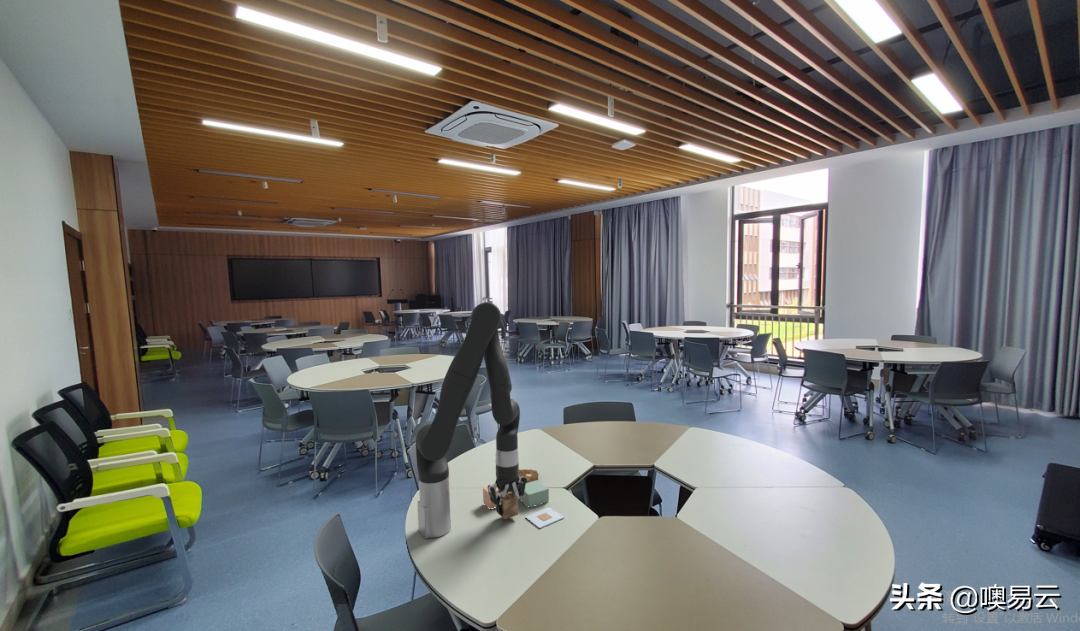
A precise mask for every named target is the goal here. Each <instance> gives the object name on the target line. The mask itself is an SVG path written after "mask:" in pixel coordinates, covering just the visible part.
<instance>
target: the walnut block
mask: <svg viewBox="0 0 1080 631" xmlns="http://www.w3.org/2000/svg"><path fill="white" fill-rule="evenodd" d="M502 504H503V515H499V516H501V517H502V518H503V519H504V520H508V519H510V518H514V517H515V516H519V506H518V497H517V496H515V495H514V494H513V493H512V492H508V493H506V496H505V498H504V499H503V503H502Z"/></svg>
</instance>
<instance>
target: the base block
mask: <svg viewBox="0 0 1080 631" xmlns="http://www.w3.org/2000/svg"><path fill="white" fill-rule="evenodd" d="M549 492H550V490H549V488H548V487H547V486H546V485H545V484H543V483H542V482H540V481H539V479H538V480H536V481H532V482H529V483H526V485H525V491H524V495H523V496H520V497H519V499H520V500H522V501H523V502H524V503H525V504H526V505H527V506H529V507H531V506H534V505H538V504H541V503H544V504H546V503H545V502H547V503H549V502H548V501H550V500H549V499H550V496H549V495H550V493H549ZM520 500H519V501H520ZM522 501H521V502H522ZM523 502H522V503H523ZM524 503H523V504H524ZM525 504H524V505H525ZM526 505H525V506H526ZM541 505H542V504H541ZM527 506H526V507H527ZM538 506H539V505H538ZM531 508H532V507H531Z"/></svg>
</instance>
